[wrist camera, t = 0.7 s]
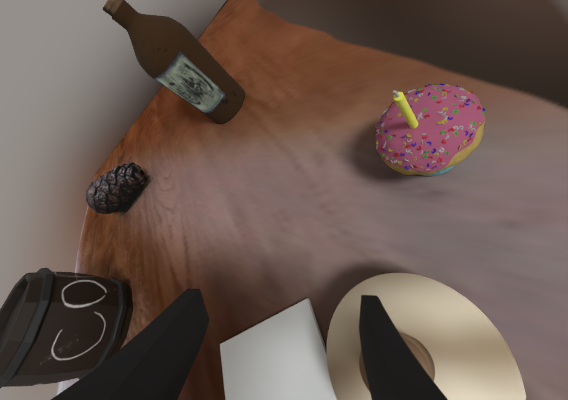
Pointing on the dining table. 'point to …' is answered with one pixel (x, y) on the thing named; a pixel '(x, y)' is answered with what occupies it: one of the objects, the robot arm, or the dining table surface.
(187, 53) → the olive oil
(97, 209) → the pine cone
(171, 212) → the dining table surface
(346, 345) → the lid
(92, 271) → the dining table surface
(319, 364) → the mat
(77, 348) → the dark grey barrel
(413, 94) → the cupcake
